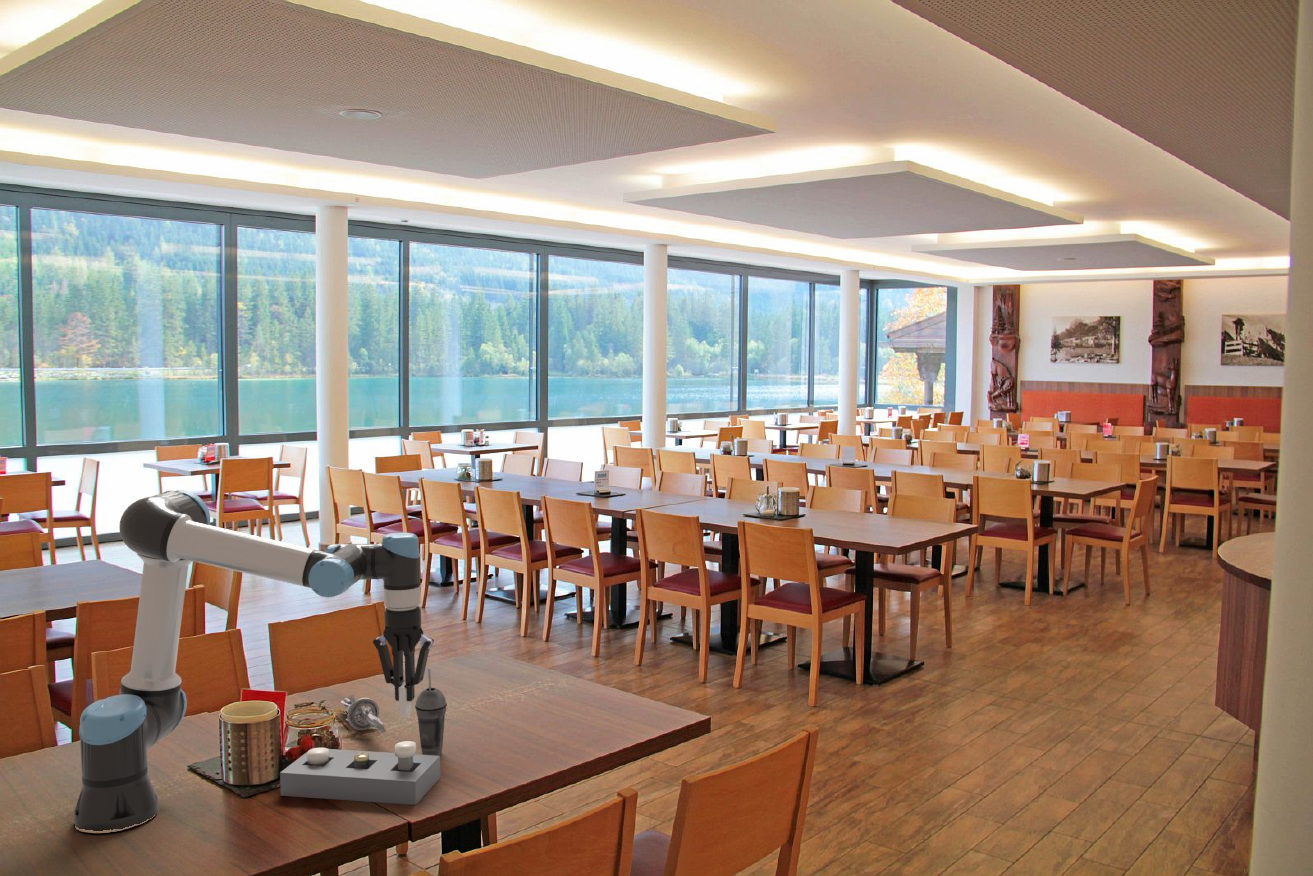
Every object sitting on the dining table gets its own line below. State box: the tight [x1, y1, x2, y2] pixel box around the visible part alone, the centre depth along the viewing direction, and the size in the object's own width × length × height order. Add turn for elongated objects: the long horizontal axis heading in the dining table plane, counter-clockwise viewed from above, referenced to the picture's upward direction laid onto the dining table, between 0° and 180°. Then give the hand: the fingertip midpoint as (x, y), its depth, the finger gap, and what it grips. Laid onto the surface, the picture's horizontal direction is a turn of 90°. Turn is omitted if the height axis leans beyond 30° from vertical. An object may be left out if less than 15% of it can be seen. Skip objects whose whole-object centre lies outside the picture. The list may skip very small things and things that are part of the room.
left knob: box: [307, 747, 329, 766], centre depth 221 cm, size 4×4×5 cm
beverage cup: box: [414, 668, 448, 757], centre depth 238 cm, size 7×7×20 cm
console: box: [279, 747, 441, 806], centre depth 220 cm, size 14×30×5 cm, turn 81°
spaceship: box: [340, 694, 386, 733], centre depth 254 cm, size 8×35×8 cm
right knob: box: [394, 740, 417, 770], centre depth 218 cm, size 4×4×5 cm
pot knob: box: [354, 753, 369, 769], centre depth 220 cm, size 3×3×3 cm
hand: (405, 715), depth 217 cm, fingers closed
